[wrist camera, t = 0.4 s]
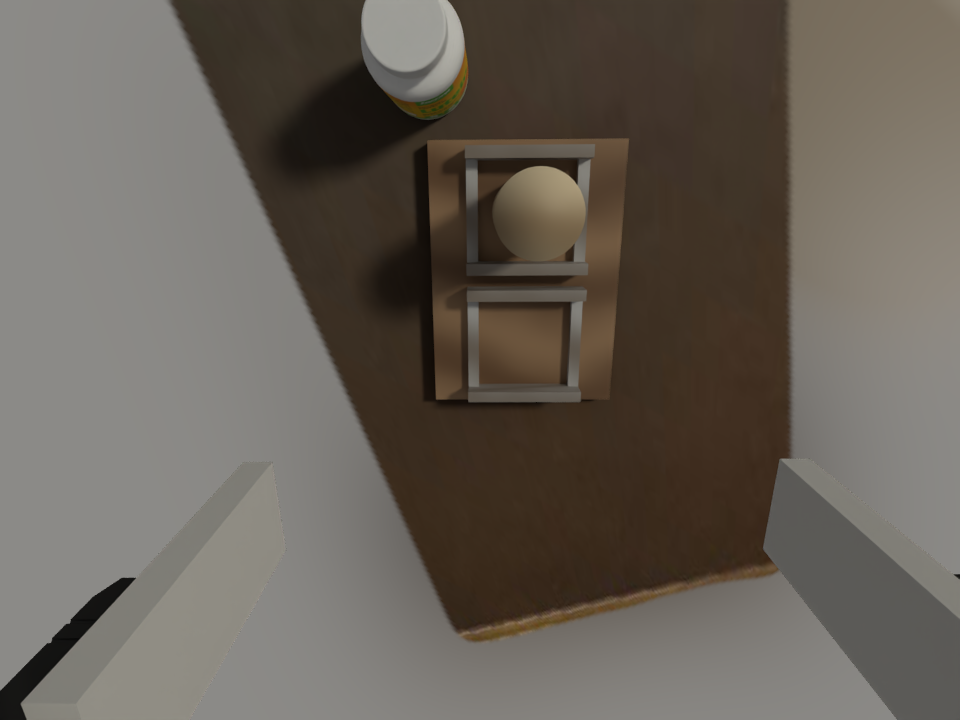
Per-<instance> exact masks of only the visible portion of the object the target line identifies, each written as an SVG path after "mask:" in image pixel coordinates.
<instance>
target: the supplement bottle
mask: <svg viewBox="0 0 960 720" xmlns="http://www.w3.org/2000/svg"><path fill="white" fill-rule="evenodd" d="M361 26H362V30H361V48H362V54H363V58H364V61H365V64H366V66H367V68H368V70H369V72H370V74H371V75H372V77H373V79H374V80H375V82H376V83H377V84H378V85H379V87H380V88H381V89H382V90H383V91H384V92H385V93H386V94H387V95H388V96H389V97H390V98H391V100H392V101H393V102H394V103H395V104H396V105H397V106H398V107H399V108H400V109H401V110H402V111H404V112H405V113H407V114H408V115H410V116H413V117H415V118H419V119H424V120H431V119H437V118H440V117H442V116H445V115H446V114H448V113H449V112H451V111H452V110H453V109H454V108H455V107H456V106H457V105H458V104H459V102H460V101H461V99H462V97H463V95H464V93H465V90H466V87H467V82H468V64H467V57H466V50H465V42H464V35H463V30H462V26H461V23H460V20H459V18H458V16H457V14H456V12H455V10H454V8H453V7H452V5H451V4H450V3H449V2H448V0H366V1H365V3H364V6H363V11H362V17H361Z"/></svg>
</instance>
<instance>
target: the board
mask: <svg viewBox="0 0 960 720" xmlns="http://www.w3.org/2000/svg"><path fill="white" fill-rule="evenodd" d="M628 143H629V139H514V140H427V149H428V178H429V208H430V237H431V267H432V296H433V326H434V356H435V385H436V399H468V402H581V399H609V397H610V384H611V370H612V357H613V344H614V330H615V317H616V304H617V290H618V277H619V264H620V250H621V237H622V224H623V210H624V197H625V183H626V170H627V157H628ZM535 166H548V167H552V168H556V169H558V170H560V171H562V172H564V173H566V174H567V175H568V176H570V177H571V178H572V179H573V180H574V181H575V183H576V184H577V185H578V187H579V189H580V190H581V193H582V195H583V198H584V202H585V208H586V216H585V223H584V227H583V229H582V232H581V234H580V236H579V238H578V239H577V241H576V242H575V244H574V245H573V246H572V247H571V248H570V249H569V250H568V251H566V252H565V253H564V254H562V255H560V256H558V257H556V258H554V259H551V260H547V261H530V260H526V259H523V258H520V257H518V256H516V255H515V254H513V253H512V252H511V251H509V250H508V249H507V248H506V247H505V245H504V244H503V243H502V241H501V240H500V238H499V236H498V234H497V231H496V228H495V225H494V222H493V218H492V207H493V202H494V199H495V197H496V195H497V193H498V191H499V190H500V189H501V187H502V186H503V185H504V184H505V183H506V182H507V181H508V180H509V179H510V178H511V177H512V176H514V175H515V174H517V173H518V172H520V171H522V170H524V169H527V168H530V167H535Z"/></svg>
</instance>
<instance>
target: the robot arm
mask: <svg viewBox="0 0 960 720" xmlns="http://www.w3.org/2000/svg"><path fill="white" fill-rule="evenodd" d="M763 550H764V551H765V552H766V553H767V555H768V556H769V557H770V559H771V560H772V561H773V562H774V564H775V565H776V566H777V567H778V569H779V570H780V571H781V572H782V574H783V575H784V576H785V578H786V579H787V580H788V581H789V583H790V584H791V585H792V586H793V588H794V589H795V590H796V592H797V593H798V594H799V595H800V597H801V598H802V599H803V600H804V602H805V603H806V604H807V605H808V607H809V608H810V609H811V611H812V612H813V613H814V614H815V616H816V617H817V618H818V619H819V621H820V622H821V623H822V625H823V626H824V627H825V628H826V630H827V631H828V632H829V633H830V635H831V636H832V637H833V639H834V640H835V641H836V642H837V644H838V645H839V646H840V647H841V649H842V650H843V651H844V652H845V654H846V655H847V656H848V658H849V659H850V660H851V661H852V663H853V664H854V665H855V666H856V668H857V669H858V670H859V671H860V673H861V674H862V675H863V677H864V678H865V679H866V680H867V682H868V683H869V684H870V686H871V687H872V688H873V689H874V691H875V692H876V693H877V694H878V696H879V697H880V698H881V699H882V701H883V702H884V703H885V705H886V706H887V707H888V708H889V710H890V711H891V712H892V714H893V715H894V716H895V717H896V719H897V720H960V574H952V573H951V572H950V571H948V570H947V569H946V568H945V567H943V566H942V565H941V564H940V563H938V562H937V561H936V560H935V559H933V558H932V557H931V556H930V555H929V554H927V553H926V552H925V551H924V550H922V549H921V548H920V547H919V546H917V545H916V544H915V543H914V542H912V541H911V540H910V539H909V538H907V537H906V536H905V535H904V534H902V533H901V532H900V531H899V530H897V529H896V528H895V527H894V526H893V525H891V524H890V523H889V522H888V521H886V520H885V519H884V518H882V517H881V516H880V515H879V514H878V513H876V512H875V511H874V510H873V509H871V508H870V507H869V506H868V505H866V504H865V503H864V502H863V501H862V500H860V499H859V498H858V497H857V496H855V495H854V494H853V493H852V492H850V491H849V490H848V489H847V488H845V487H844V486H843V485H842V484H841V483H839V482H838V481H837V480H836V479H834V478H833V477H832V476H831V475H829V474H828V473H827V472H826V471H824V470H823V469H822V468H821V467H819V466H818V465H817V464H816V463H815V462H813V461H812V460H811V459H780V461H779V466H778V471H777V477H776V482H775V487H774V493H773V498H772V503H771V509H770V514H769V520H768V525H767V530H766V536H765V541H764V546H763ZM285 551H286V546H285V539H284V533H283V527H282V520H281V514H280V508H279V501H278V495H277V488H276V482H275V475H274V469H273V463H272V462H243V463H242V464H241V465H240V466H239V467H238V468H237V470H236V471H235V472H234V473H233V474H232V475H231V476H230V477H229V478H228V479H227V481H225V483H224V484H223V485H222V486H221V487H220V488H219V489H218V490H217V491H216V493H214V494H213V496H212V497H211V498H210V499H209V500H208V501H207V502H206V503H205V504H204V505H203V506H202V507H201V509H200V510H199V511H198V512H197V513H196V514H195V515H194V516H193V517H192V518H191V519H190V521H189V522H188V523H187V524H186V525H185V526H184V527H183V528H182V529H181V530H180V531H179V533H177V535H176V536H175V537H174V538H173V539H172V540H171V541H170V542H169V543H168V544H167V545H166V547H165V548H164V549H163V550H162V551H161V552H160V553H159V554H158V555H157V556H156V558H154V560H153V561H152V562H151V563H150V564H149V565H148V566H147V567H146V568H145V569H144V570H143V572H142V573H141V574H140V575H139V576H138V577H137V578H121V579H119V580H118V581H117V582H115V583H113V584H112V585H110V586H109V587H107V588H106V589H104V590H103V591H101V592H100V593H98V594H97V595H95V596H94V597H92V598H91V600H90V601H89V602H88V603H87V604H86V605H85V606H84V607H83V608H82V609H81V610H80V611H79V612H78V613H77V614H76V615H75V616H74V617H73V618H72V619H71V622H70V624H66V625H65V626H64V627H63V628H62V629H61V630H60V631H59V632H58V633H57V634H56V635H55V636H54V637H53V638H52V642H51V643H47V644H46V645H45V646H44V647H43V648H42V649H41V650H40V651H39V652H38V653H37V654H36V655H35V656H34V657H33V658H32V659H31V660H30V661H29V662H28V663H27V664H26V665H25V666H24V667H23V668H22V669H21V670H20V671H19V672H18V673H17V674H16V676H15V677H14V678H12V680H10V682H9V683H8V684H7V685H6V686H5V687H4V688H3V689H2V690H1V691H0V720H190V718H191V716H192V715H193V713H194V711H195V710H196V708H197V706H198V704H199V702H200V700H201V699H202V697H203V695H204V694H205V692H206V690H207V688H208V687H209V685H210V683H211V682H212V680H213V678H214V676H215V674H216V673H217V671H218V669H219V667H220V665H221V664H222V662H223V660H224V659H225V657H226V655H227V653H228V652H229V650H230V648H231V646H232V645H233V643H234V641H235V639H236V638H237V636H238V634H239V632H240V630H241V629H242V627H243V625H244V624H245V622H246V620H247V618H248V617H249V615H250V613H251V611H252V610H253V608H254V606H255V604H256V603H257V601H258V599H259V597H260V595H261V594H262V592H263V590H264V589H265V587H266V585H267V583H268V581H269V580H270V578H271V576H272V574H273V573H274V571H275V569H276V567H277V566H278V564H279V562H280V560H281V559H282V557H283V555H284V553H285Z"/></svg>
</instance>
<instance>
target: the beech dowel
mask: <svg viewBox="0 0 960 720" xmlns="http://www.w3.org/2000/svg"><path fill="white" fill-rule="evenodd" d="M585 216H586V208H585V202H584V198H583V195H582V193H581V190H580V189H579V187H578V185H577V184H576V183H575V181H574V180H573V179H572V178H571V177H570V176H568V175H567V174H566V173H564V172H562V171H560V170H558V169H556V168H552V167H548V166H535V167H530V168H527V169H524V170H522V171H520V172H518V173H517V174H515V175H514V176H512V177H511V178H510V179H509V180H508V181H507V182H506V183H505V184H504V185H503V186H502V187H501V189H500V190H499V191H498V193H497V195H496V197H495V199H494V202H493V207H492V218H493V222H494V225H495V228H496V231H497V234H498V236H499V238H500V240H501V241H502V243H503V244H504V245H505V247H506V248H507V249H508V250H509V251H511V252H512V253H513V254H515V255H516V256H518V257H520V258H523V259H526V260H530V261H547V260H551V259H554V258H556V257H558V256H560V255H562V254H564V253H565V252H566V251H568V250H569V249H570V248H571V247H572V246H573V245H574V244H575V242H576V241H577V239H578V238H579V236H580V234H581V232H582V229H583V227H584V223H585Z"/></svg>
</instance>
